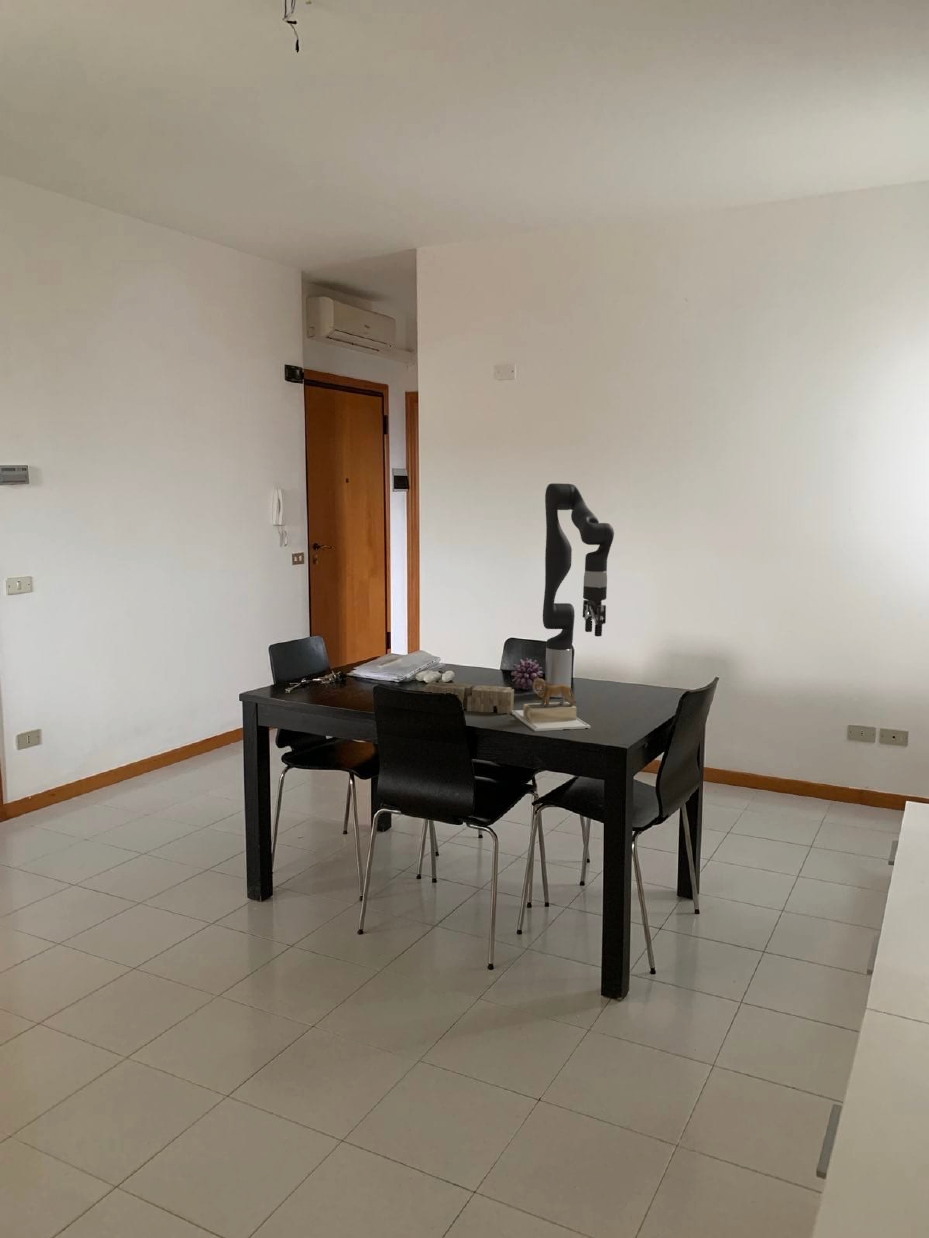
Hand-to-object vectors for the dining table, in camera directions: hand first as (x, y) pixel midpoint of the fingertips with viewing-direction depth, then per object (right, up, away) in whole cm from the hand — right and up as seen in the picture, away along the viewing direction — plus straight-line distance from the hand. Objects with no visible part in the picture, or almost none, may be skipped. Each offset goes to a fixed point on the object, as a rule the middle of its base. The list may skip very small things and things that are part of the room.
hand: (593, 634), depth 298 cm
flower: (-19, -21, +38) cm, 48 cm away
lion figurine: (-14, -23, -9) cm, 28 cm away
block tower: (-40, -26, +7) cm, 48 cm away
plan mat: (-15, -27, -8) cm, 32 cm away
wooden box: (-15, -27, -8) cm, 32 cm away
